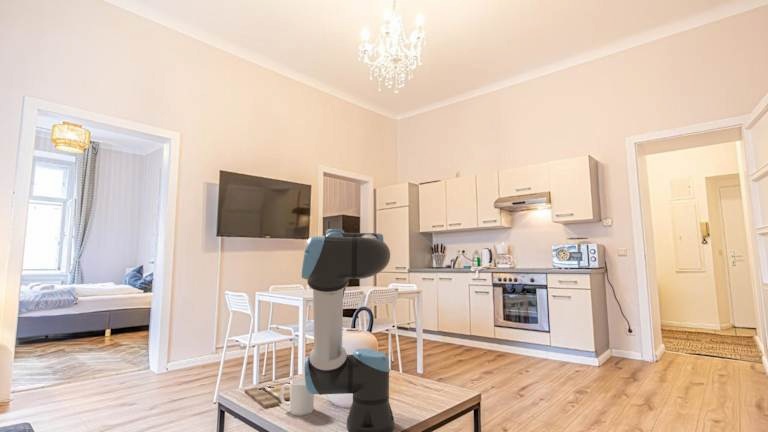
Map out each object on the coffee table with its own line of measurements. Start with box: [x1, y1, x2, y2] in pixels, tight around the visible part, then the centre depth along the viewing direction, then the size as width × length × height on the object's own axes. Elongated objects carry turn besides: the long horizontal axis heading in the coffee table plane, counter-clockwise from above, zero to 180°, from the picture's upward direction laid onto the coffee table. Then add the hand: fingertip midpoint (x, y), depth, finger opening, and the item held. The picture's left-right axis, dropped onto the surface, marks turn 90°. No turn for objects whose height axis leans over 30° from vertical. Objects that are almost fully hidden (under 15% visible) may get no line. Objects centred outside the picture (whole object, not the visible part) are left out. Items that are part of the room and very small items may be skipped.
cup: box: [280, 377, 315, 417], centre depth 138 cm, size 8×12×10 cm
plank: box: [262, 381, 290, 403], centre depth 155 cm, size 16×10×2 cm, turn 38°
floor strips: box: [244, 386, 280, 409], centre depth 149 cm, size 20×6×1 cm, turn 39°
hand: (333, 328), depth 154 cm, fingers closed
